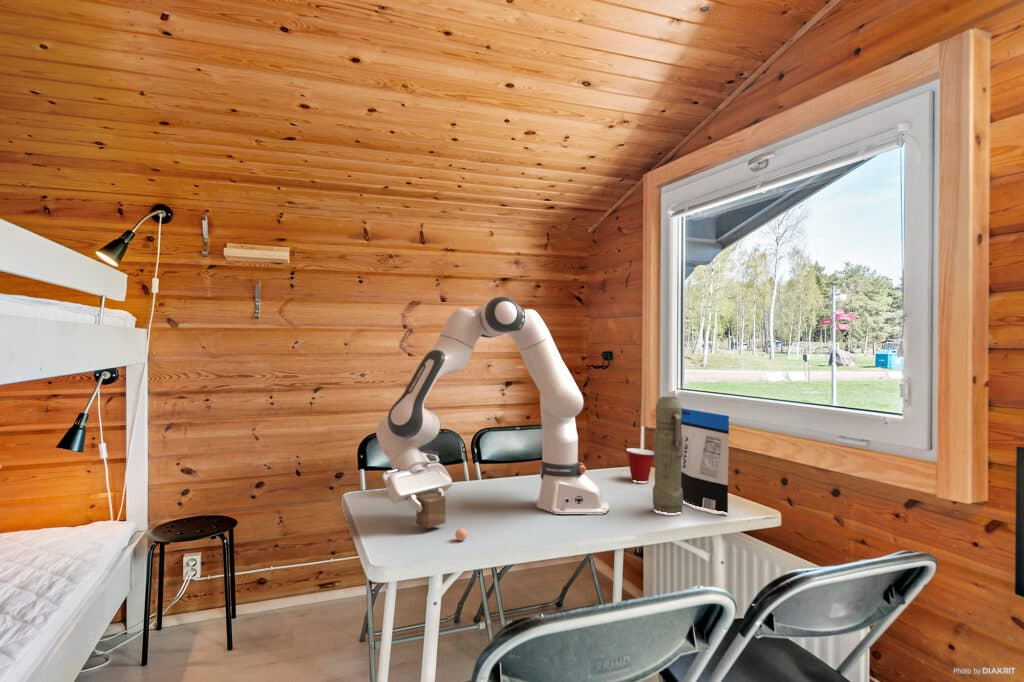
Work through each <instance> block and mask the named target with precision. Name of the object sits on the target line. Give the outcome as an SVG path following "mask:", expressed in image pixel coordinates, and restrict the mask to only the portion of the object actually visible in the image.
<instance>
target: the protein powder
mask: <svg viewBox="0 0 1024 682" xmlns="http://www.w3.org/2000/svg"><path fill="white" fill-rule="evenodd" d="M729 420H730V415H727V414H726V415H724V414H719V413H712V412H706V411H701V410H695V409H688V408H683V407H681V433H682V436H683V456H682V458H681V487H682V490H683V500H684V501H685V502H687V503H689V504H692V505H695V506H699V507H703V508H707V509H711V510H717V511H724V512H727V513H728V514H729V506H728V505H729V501H728V500H729V498H728V497H729V494H728V493H729V491H728V490H729V489H728V488H729V454H730V453H729V451H730V450H729V449H730V448H729V447H730V446H729V445H730V444H729V443H730V439H729V438H730V436H729V435H730V433H729V432H730V430H729V429H730V427H729V426H730V421H729Z"/></svg>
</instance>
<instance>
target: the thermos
mask: <svg viewBox="0 0 1024 682" xmlns="http://www.w3.org/2000/svg"><path fill="white" fill-rule="evenodd" d="M655 405H656V406H655V425H656V426H655V431H654V433H653V452H654V485H653V487H652V505H653V507H652V509H653V508H654V509H655V510H657V511H661V512H667V513H677V512H681V511H682V512H683V505H684V504H683V490H682V487H681V458H682V456H683V436H682V433H681V408H682V404H681V401H680V399H679V398H677V396H676V397H675V396H661V397H658V399H657V401H656V404H655Z"/></svg>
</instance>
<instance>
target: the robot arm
mask: <svg viewBox="0 0 1024 682" xmlns="http://www.w3.org/2000/svg"><path fill="white" fill-rule="evenodd" d="M505 334H508V335H509V336H510V337H511V338H512V339H513V341H514V342H515V344H516V346H517V347H516V348H517V349H518V351H519V354H520V356H521V358H522V361H523V363H524V365H525V367H526V370H527V372H528V374H529V375H530V377H531V379H532V380H533V382H534V384H535V385H536V388H537V389H538V391H539V393H540V394H539V401H540V402H539V403H540V405H539V406H540V420H541V431H542V450H541V451H542V460H541V462H540V466H539V467H540V473H539V474H540V480H541V481H540V488H539V495H538V499H537V502H536V505H537V506H536V508H538V507H539V508H538V509H540V508H541V509H540V510H542V509H545V510H548V511H547V512H549V511H552V512H554V513H558V514H561V513H562V514H563V513H604V512H607V511H608V510H609V511H610V505H609V503H608V502H607V501H605V500H604V499H603V494H602V491H601V488H600V486H599V485H598V484H596V483H595V482H594V481H593V480H592V479H590V478H589V477H588V476H587V475H586V474H585V472H586V471H587V470H586V469H587V468H586V466H585V465H584V463H583V462H581V461H579V460H578V458H579V457H578V455H579V443H578V442H579V435H578V432H577V425H576V417H577V416H578V415H579V414H580V413H581V412H582V410H583V407H584V397H583V395H582V392H581V391H580V389H579V386H578V385H577V383H576V382H575V379H574V378H573V376H572V373H570V370H569V368H568V367H567V366H566V364H565V362H564V361H563V359H562V356H561V354H560V352H559V350H558V348H557V346H556V343H555V342H554V339H553V336H552V334H551V333H550V331H549V328H548V326H547V325H546V324H545V322H544V320H543V319H542V317H541V315H540V314H539V313H538V312H537V311H536V310H534V309H531V308H530V309H529V308H526V309H525V308H524V307H523V308H522V307H521V306H520V305H519V304H518V303H517V302H516V301H515V300H514V299H512V298H511V297H508V296H498V297H494V298H492V299H490V300H487V301H486V302H484V303H483V304H482V305H481V306H480V307H477V309H475V310H473V309H470V308H466V307H460V308H457V309H455V310H453V312H452V313H451V314H450V315H449V317H448V319H447V320H446V322H445V324H443V328H442V329H441V331H440V333H439V336H438V337H437V340H436V342H435V343H434V345H433V347H432V348H431V350H430V351H429V352H428V353H427V354H426V355H425V356H424V357H423V359H422V360H421V362H420V363H419V365H418V366H417V369H416V371H414V374H413V375H412V377H411V379H410V381H409V383H408V385H407V386H406V388H405V390H404V392H402V394H401V396H400V397H399V398H398V399H397V400H396V401H395V402H394V403H393V404H392V406H391V408H390V409H389V411H388V414H387V416H385V417H384V418H382V419H381V420H380V421H379V422H378V424H377V426H376V429H375V434H376V438H377V441H378V443H379V446H380V448H381V450H382V452H383V454H384V455H385V456H386V457H387V458H388V461H389V465H390V466H391V469H388V470H384V472H383V473H382V476H381V479H382V481H383V482H384V484H385V488H386V491H387V494H388V496H389V499H390V501H392V502H393V503H395V504H397V503H403V502H405V501H407V503H408V504H410V505H411V506H412V507H414V508H415V509H416V510H417V512H422V511H423V510H424V509H425V506H424V505H423V503H420V502H419V501H417V497H421V496H425V495H429V494H438V495H442V496H445V493H444V492H447V491H448V490H449V489H450V488H451V486H452V485H453V479H452V477H451V475H450V474H449V472H448V470H447V469H446V468H445V466H444V465H443V464H441V463H440V458H439V455H438V456H436V455H431V454H426V453H423V452H420V451H419V450H420V449H419V448H422V447H424V446H425V445H427V444H429V443H431V442H432V441H434V440H435V439H437V437H438V435H439V434H440V430H441V420H440V418H439V416H438V414H436V413H435V412H432V411H431V410H429V409H427V408H425V405H424V404H425V402H426V400H427V397H428V396H429V395H430V393H431V390H432V389H433V387H434V385H435V383H436V381H437V380H438V379H439V378H440V377H441V376H443V375H446V374H453V373H456V372H460V371H462V370H463V369H465V367H466V365H467V364H468V363H469V361H470V359H471V357H472V355H473V352H474V350H475V347H476V344H477V342H478V340H479V339H480V338H487V339H488V338H489V339H491V338H492V339H493V338H495V337H500V336H503V335H505ZM545 510H544V511H545ZM552 512H551V513H552ZM554 513H553V514H554Z"/></svg>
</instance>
